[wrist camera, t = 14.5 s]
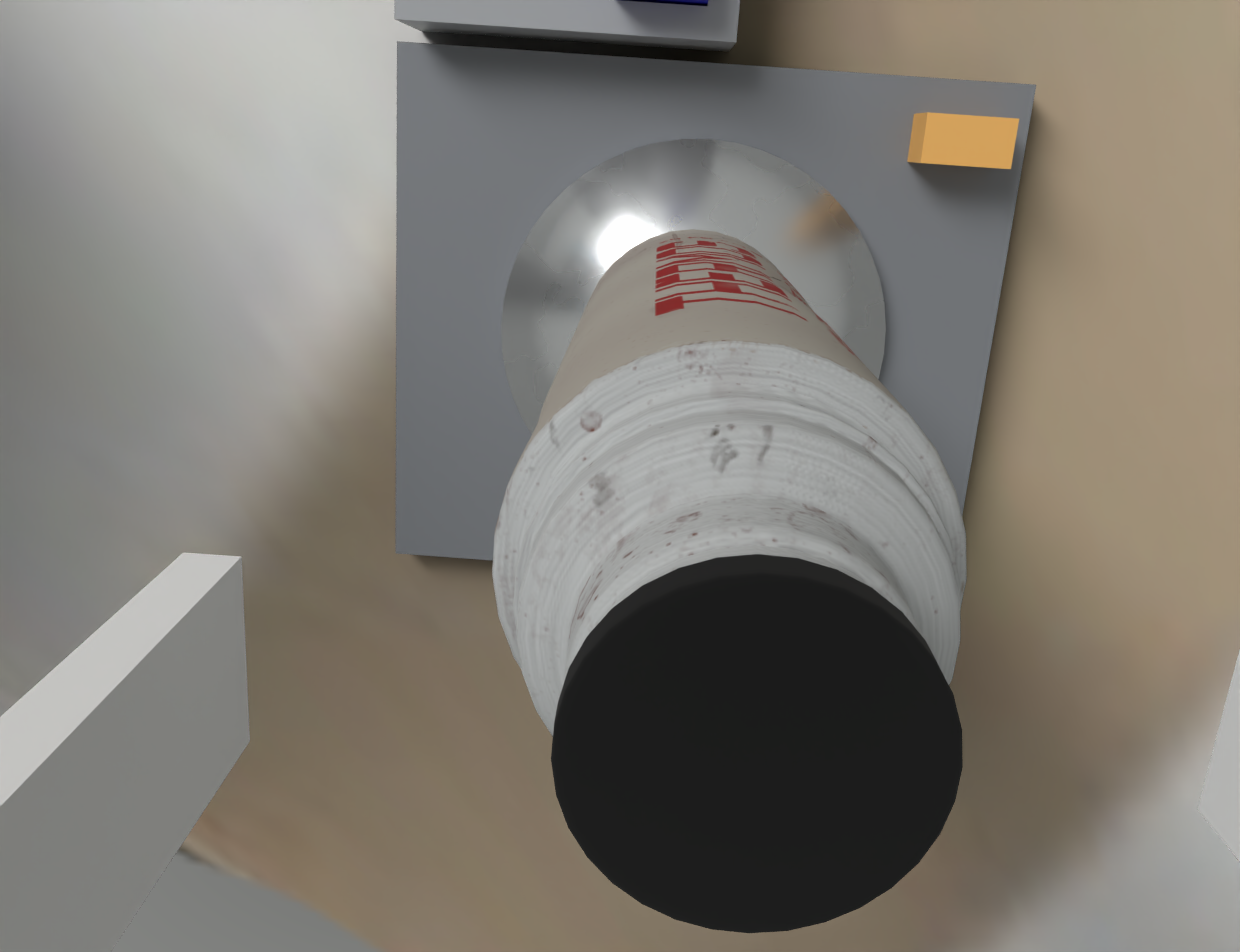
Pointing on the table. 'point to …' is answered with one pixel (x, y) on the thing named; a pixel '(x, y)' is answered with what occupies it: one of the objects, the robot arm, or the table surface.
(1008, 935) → the table surface
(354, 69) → the table surface
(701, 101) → the rosette base
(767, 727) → the thermos bottle
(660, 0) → the blue stepped block
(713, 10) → the desk organizer
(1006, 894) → the table surface
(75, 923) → the robot arm
